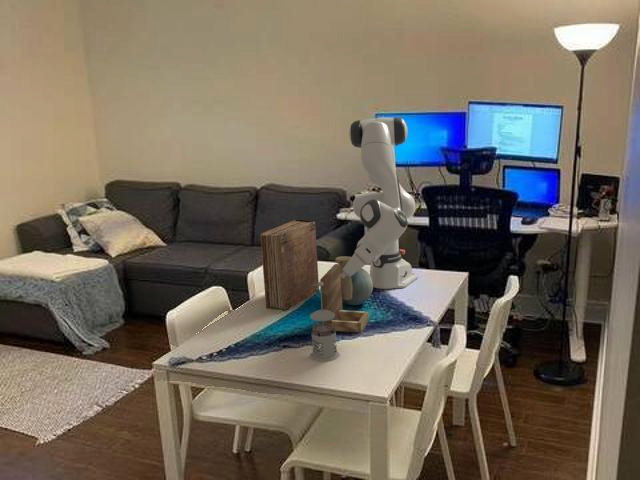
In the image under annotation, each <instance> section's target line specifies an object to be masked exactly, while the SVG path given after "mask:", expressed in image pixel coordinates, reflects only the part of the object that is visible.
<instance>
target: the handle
mask: <svg viewBox="0 0 640 480" xmlns="http://www.w3.org/2000/svg"><path fill="white" fill-rule="evenodd" d="M351 257H352V256H346V255H345V256H342V255H341V256H338V257H335V264H339V265H340V270H341V273H342V272H343V268H344V266H345V265H346V264H347V263H348V261H349V260H350V259H351ZM341 290H342V294H343V299H344V300H351V299H352V279H351V276H350V277H348V276H346V277H345V278H342V277H341Z"/></svg>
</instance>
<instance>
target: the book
mask: <svg viewBox="0 0 640 480" xmlns="http://www.w3.org/2000/svg"><path fill="white" fill-rule="evenodd" d="M259 235H260V236H259V237H260V247H261V248H260V249H261V259H262V260H261V261H262V263H261V264H262V271H263V274H262V275H263V286H264V296H265V297H264V298H265V308H266V309H269V308H274V309H279V310H280V309H281V310H284V311H285V312H287V311H289V310H291V309H292V308H294V307H296V306H297V305H298V304H300V303H302V302H303V301H306V299H309V298H310V297H312V296H313V295H315V294H316V293H318V292H320V286H318V282H320V279H319V267H318V265H319V264H318V263H319V262H318V253H317V252H318V249H317V234H316V222H315V220H306V219H305V220H303V219H294V220H291V221H289V222H287V223H284V224H282V225H279V226H276V227H275V228H272V229H269V230H266V231H265V232H262V233H260V234H259Z"/></svg>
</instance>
